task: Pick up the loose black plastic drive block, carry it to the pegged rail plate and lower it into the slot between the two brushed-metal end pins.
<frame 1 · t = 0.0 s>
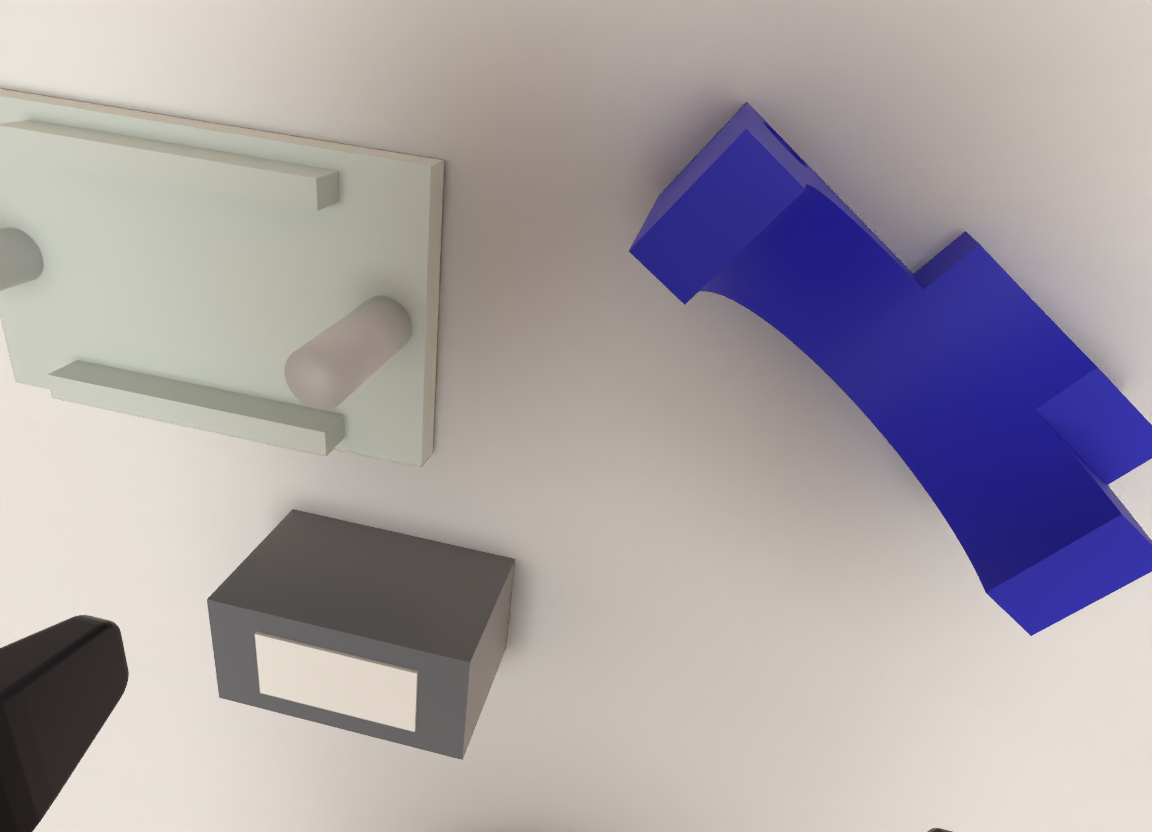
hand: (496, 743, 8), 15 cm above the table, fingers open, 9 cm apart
pegged rail plate: (217, 278, 23), on the table
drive: (402, 577, 27), on the table
cable clip: (886, 290, 20), on the table
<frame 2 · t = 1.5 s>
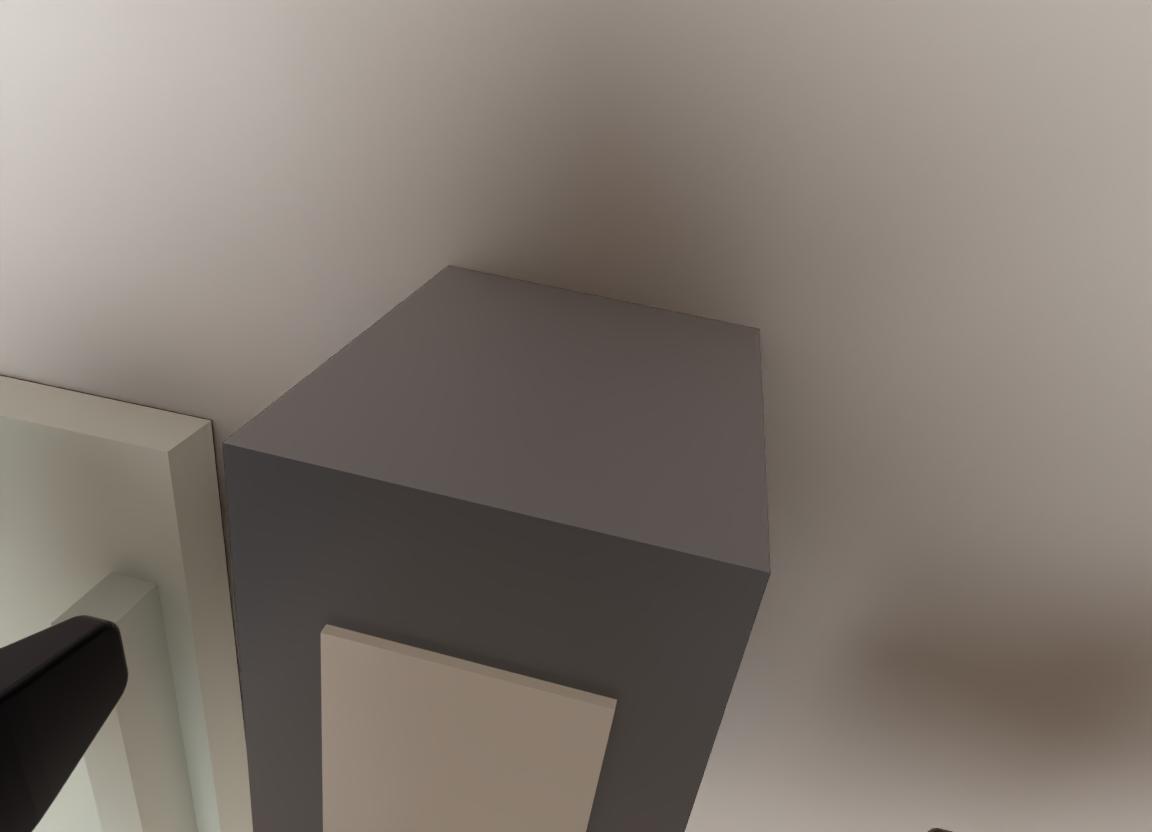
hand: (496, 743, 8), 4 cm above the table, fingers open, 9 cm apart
pegged rail plate: (36, 684, 15), on the table
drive: (559, 545, 12), on the table
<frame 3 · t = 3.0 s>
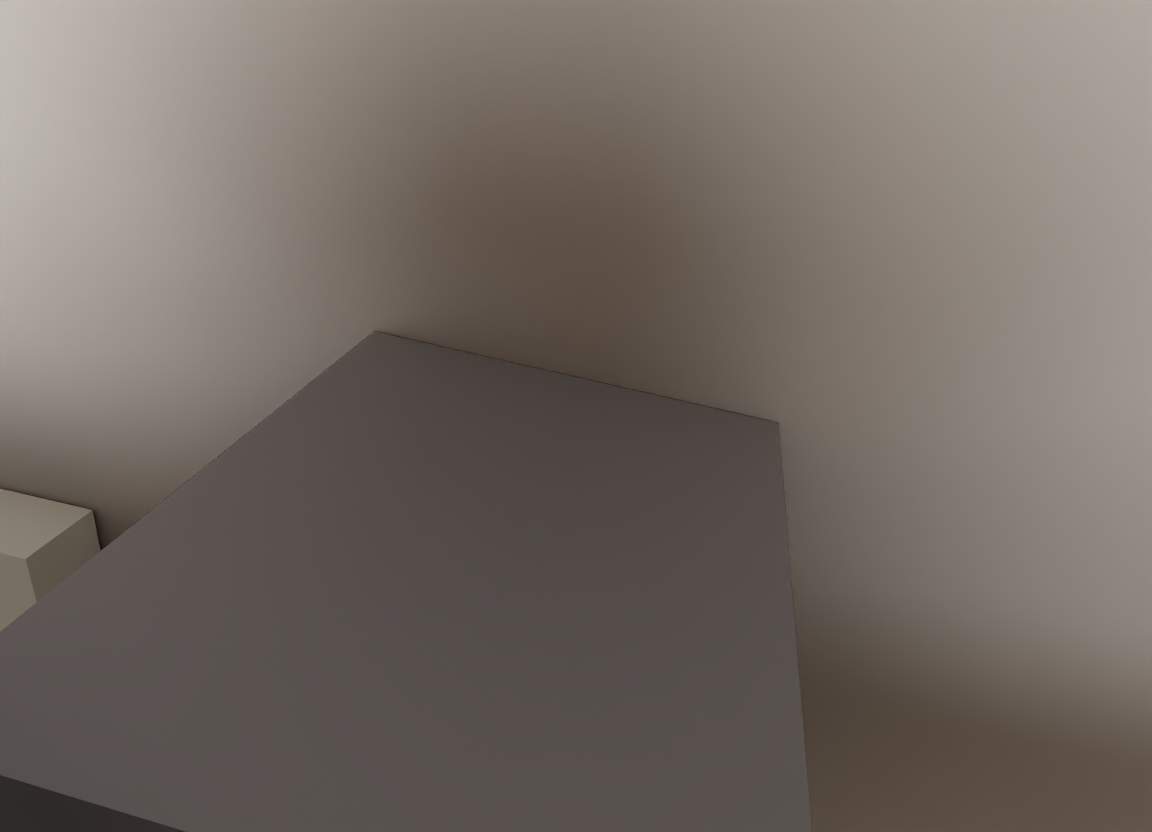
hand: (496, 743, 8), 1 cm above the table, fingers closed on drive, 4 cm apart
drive: (520, 674, 9), on the table, touching gripper
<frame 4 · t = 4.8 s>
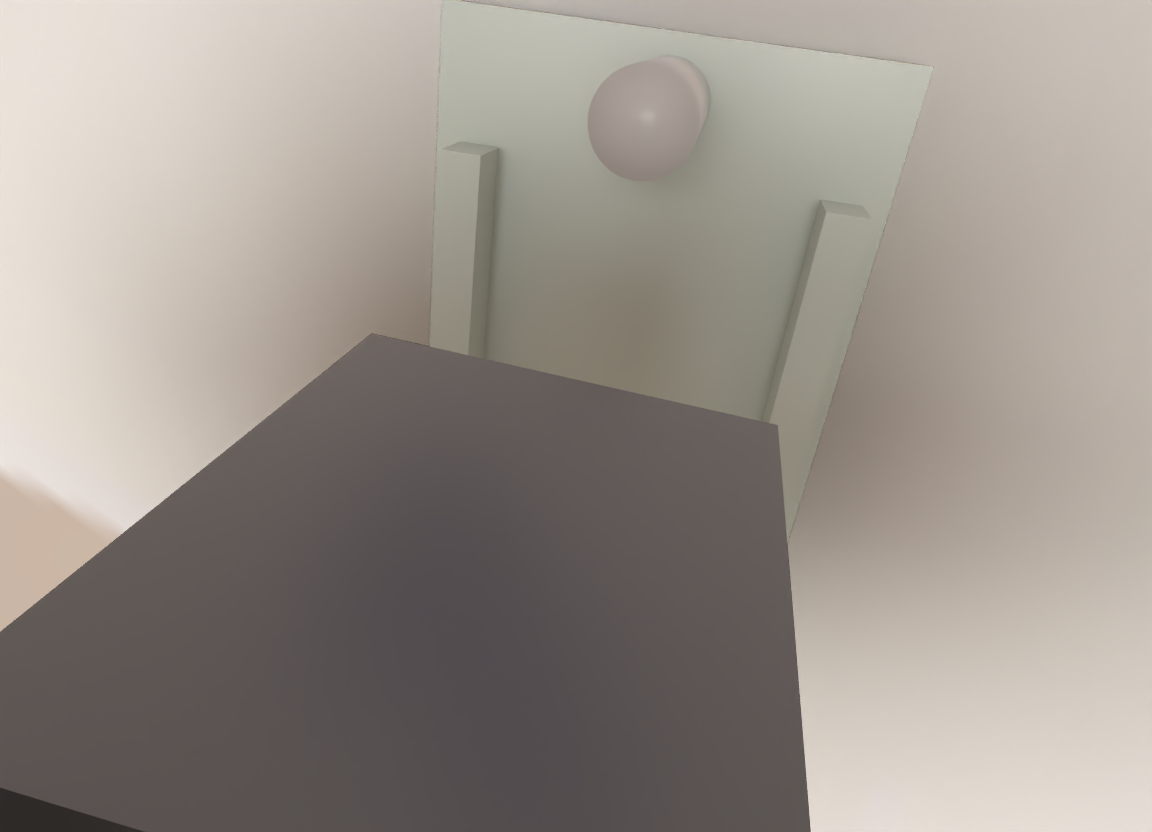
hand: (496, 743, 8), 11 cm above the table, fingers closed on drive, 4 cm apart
pegged rail plate: (627, 362, 18), on the table
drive: (519, 677, 9), point 10 cm above the table, touching gripper
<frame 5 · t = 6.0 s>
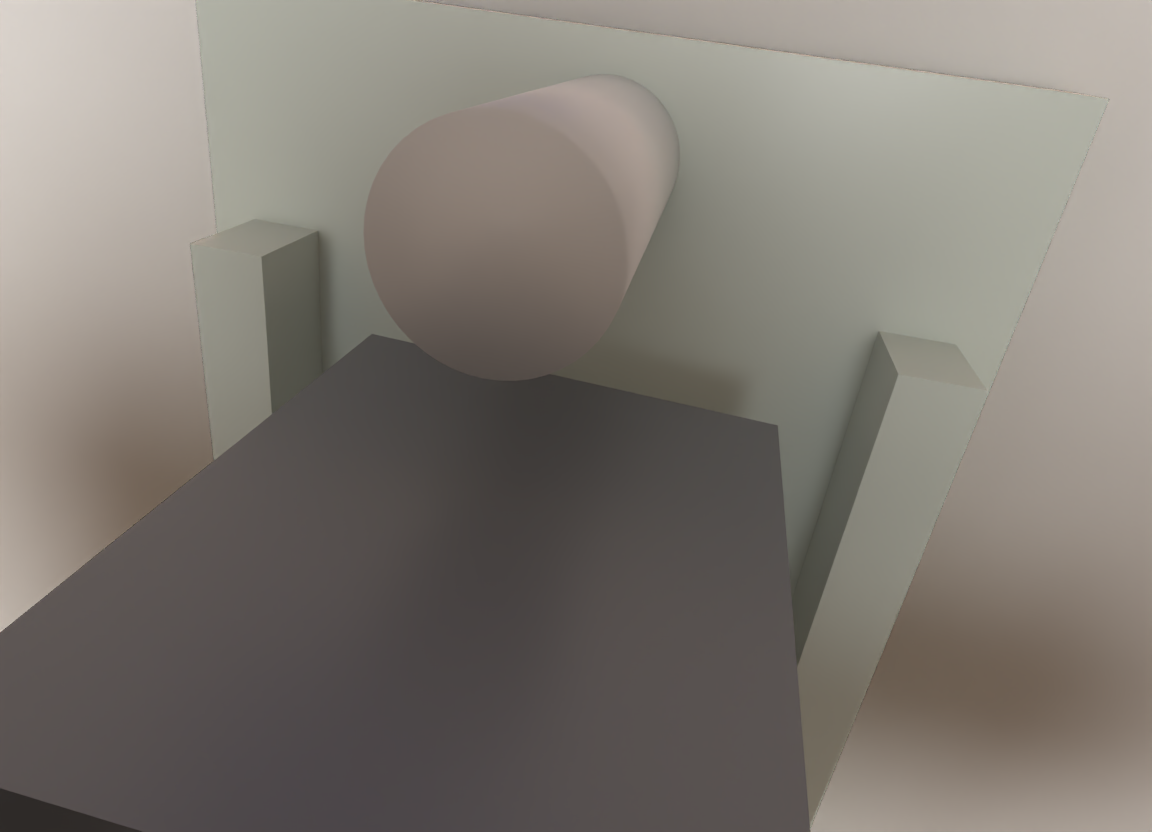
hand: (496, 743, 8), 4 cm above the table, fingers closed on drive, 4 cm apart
pegged rail plate: (559, 549, 12), on the table
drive: (519, 678, 9), point 3 cm above the table, touching gripper
when the fingers open (3 cm above the table, at t = 6.9 s): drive stays where it is, resting on pegged rail plate.
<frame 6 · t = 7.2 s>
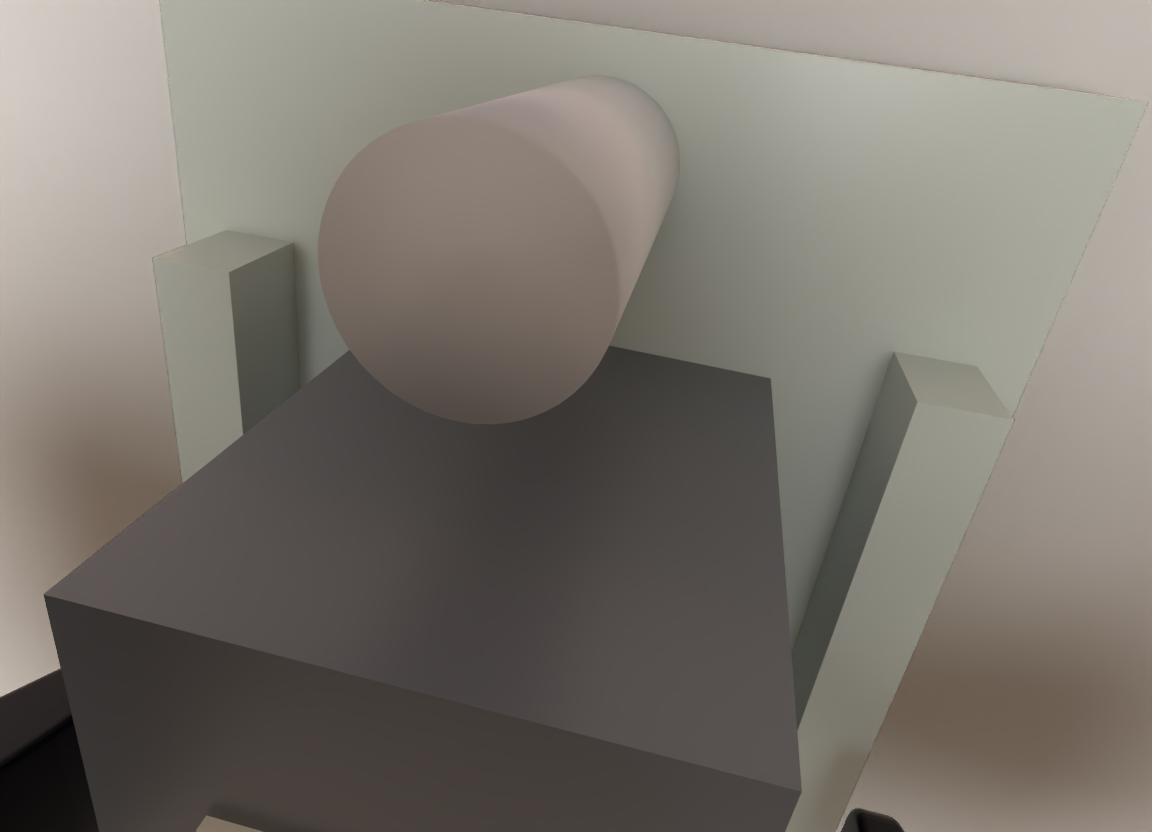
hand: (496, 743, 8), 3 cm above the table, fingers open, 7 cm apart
pegged rail plate: (553, 574, 11), on the table
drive: (540, 622, 10), point 1 cm above the table, touching pegged rail plate
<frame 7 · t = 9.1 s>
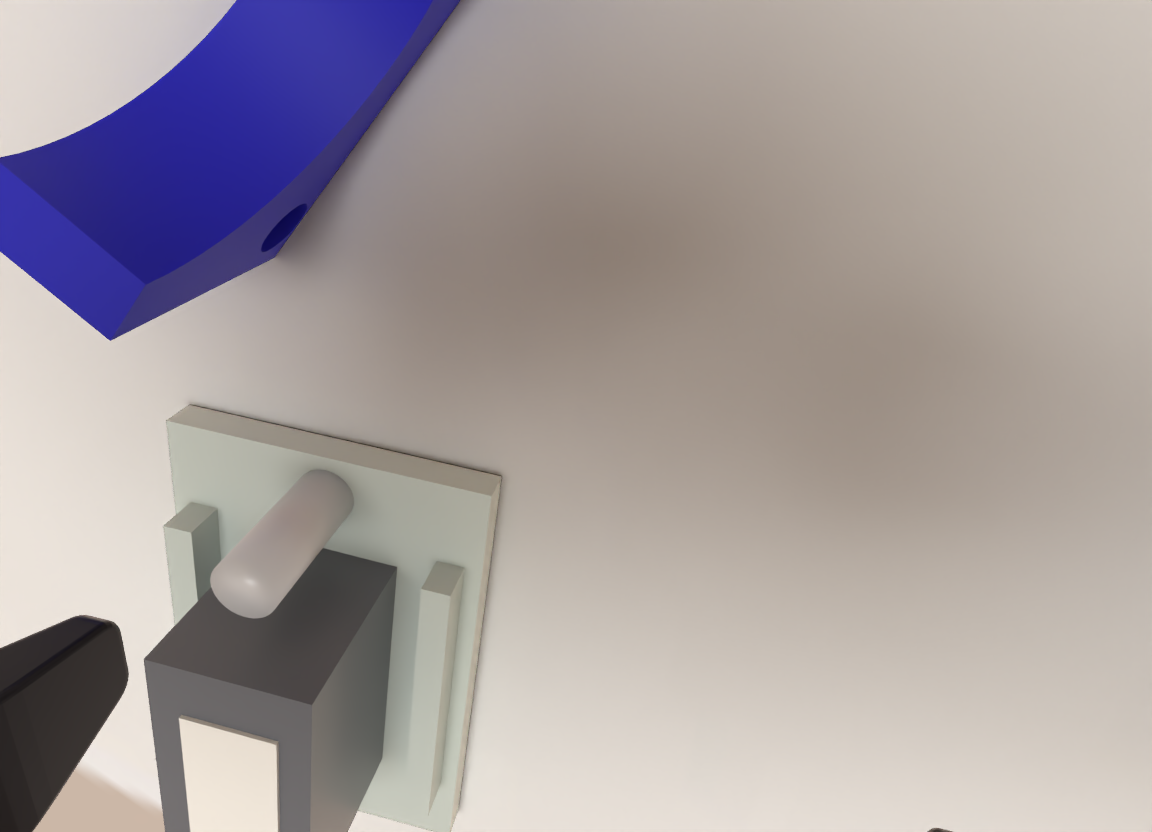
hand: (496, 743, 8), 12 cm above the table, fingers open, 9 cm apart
pegged rail plate: (339, 630, 24), on the table
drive: (326, 653, 24), point 1 cm above the table, touching pegged rail plate
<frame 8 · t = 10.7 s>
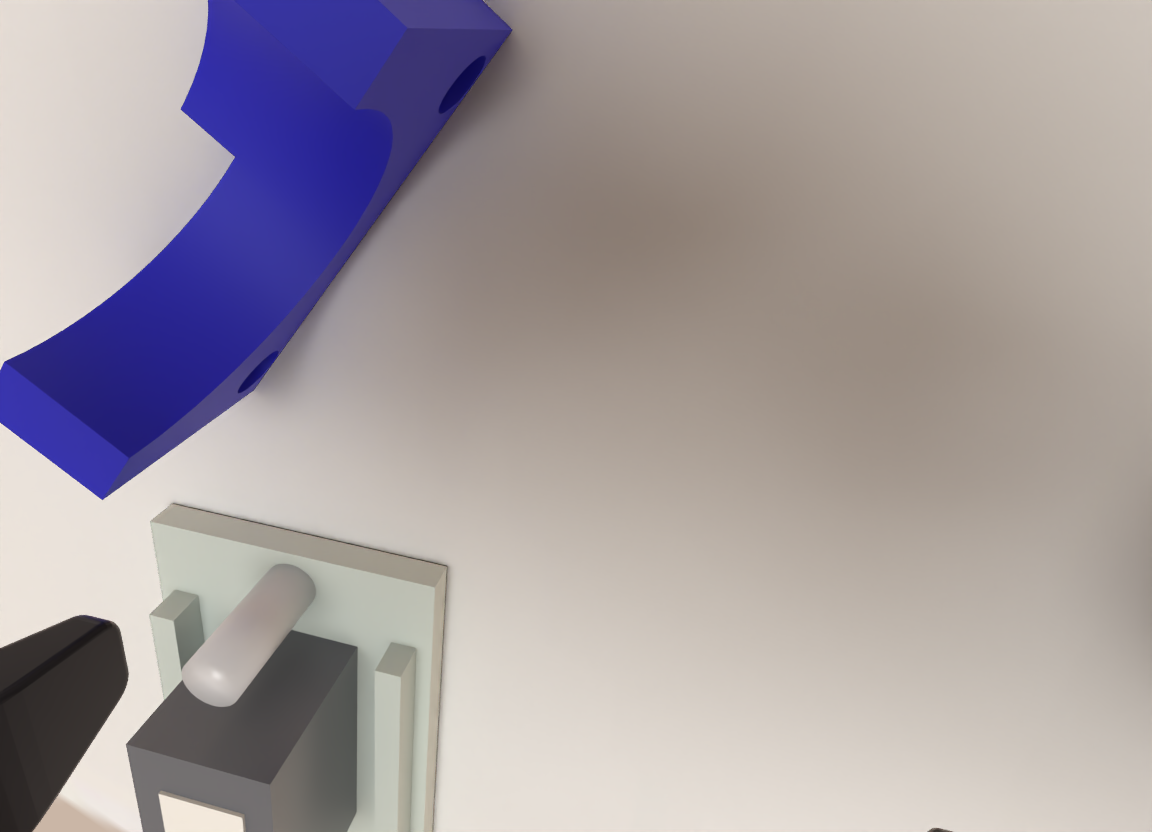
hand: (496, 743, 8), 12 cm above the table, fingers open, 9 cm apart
pegged rail plate: (314, 697, 27), on the table
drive: (300, 720, 26), point 1 cm above the table, touching pegged rail plate
cable clip: (300, 168, 19), on the table
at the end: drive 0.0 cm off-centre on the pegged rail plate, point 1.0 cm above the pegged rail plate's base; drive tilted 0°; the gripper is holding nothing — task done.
